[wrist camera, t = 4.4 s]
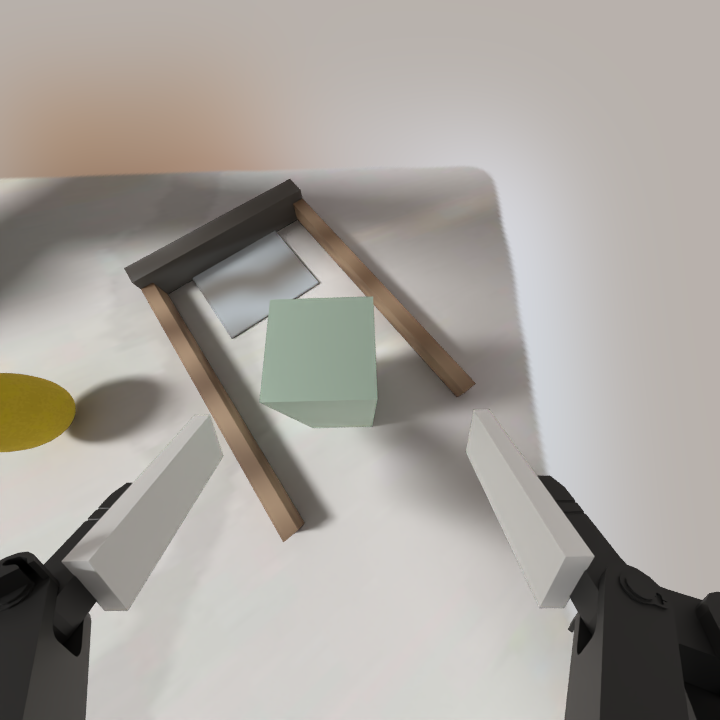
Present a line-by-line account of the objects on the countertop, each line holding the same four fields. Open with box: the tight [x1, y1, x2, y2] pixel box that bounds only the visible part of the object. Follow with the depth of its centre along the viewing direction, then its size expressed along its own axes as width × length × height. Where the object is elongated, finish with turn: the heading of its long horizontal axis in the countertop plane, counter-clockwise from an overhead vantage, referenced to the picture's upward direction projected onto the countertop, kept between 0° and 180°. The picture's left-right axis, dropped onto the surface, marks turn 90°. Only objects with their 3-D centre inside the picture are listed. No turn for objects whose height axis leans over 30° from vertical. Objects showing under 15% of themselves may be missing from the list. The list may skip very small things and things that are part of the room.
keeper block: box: [259, 297, 378, 428], centre depth 18 cm, size 5×5×12 cm
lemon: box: [0, 373, 76, 452], centre depth 20 cm, size 6×6×8 cm
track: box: [124, 179, 476, 542], centre depth 24 cm, size 28×18×3 cm, turn 37°
